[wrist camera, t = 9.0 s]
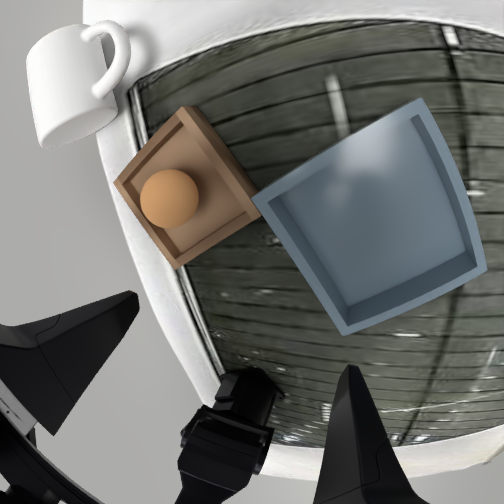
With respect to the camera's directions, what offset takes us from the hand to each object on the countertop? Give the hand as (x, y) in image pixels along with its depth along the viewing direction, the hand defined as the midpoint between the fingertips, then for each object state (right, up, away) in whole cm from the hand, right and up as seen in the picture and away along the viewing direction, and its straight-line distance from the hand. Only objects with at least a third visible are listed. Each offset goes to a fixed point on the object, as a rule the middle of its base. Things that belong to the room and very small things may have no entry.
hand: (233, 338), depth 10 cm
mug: (-13, +21, +10) cm, 26 cm away
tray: (-5, +9, +13) cm, 16 cm away
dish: (+10, +6, +9) cm, 15 cm away
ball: (-6, +7, +10) cm, 13 cm away
